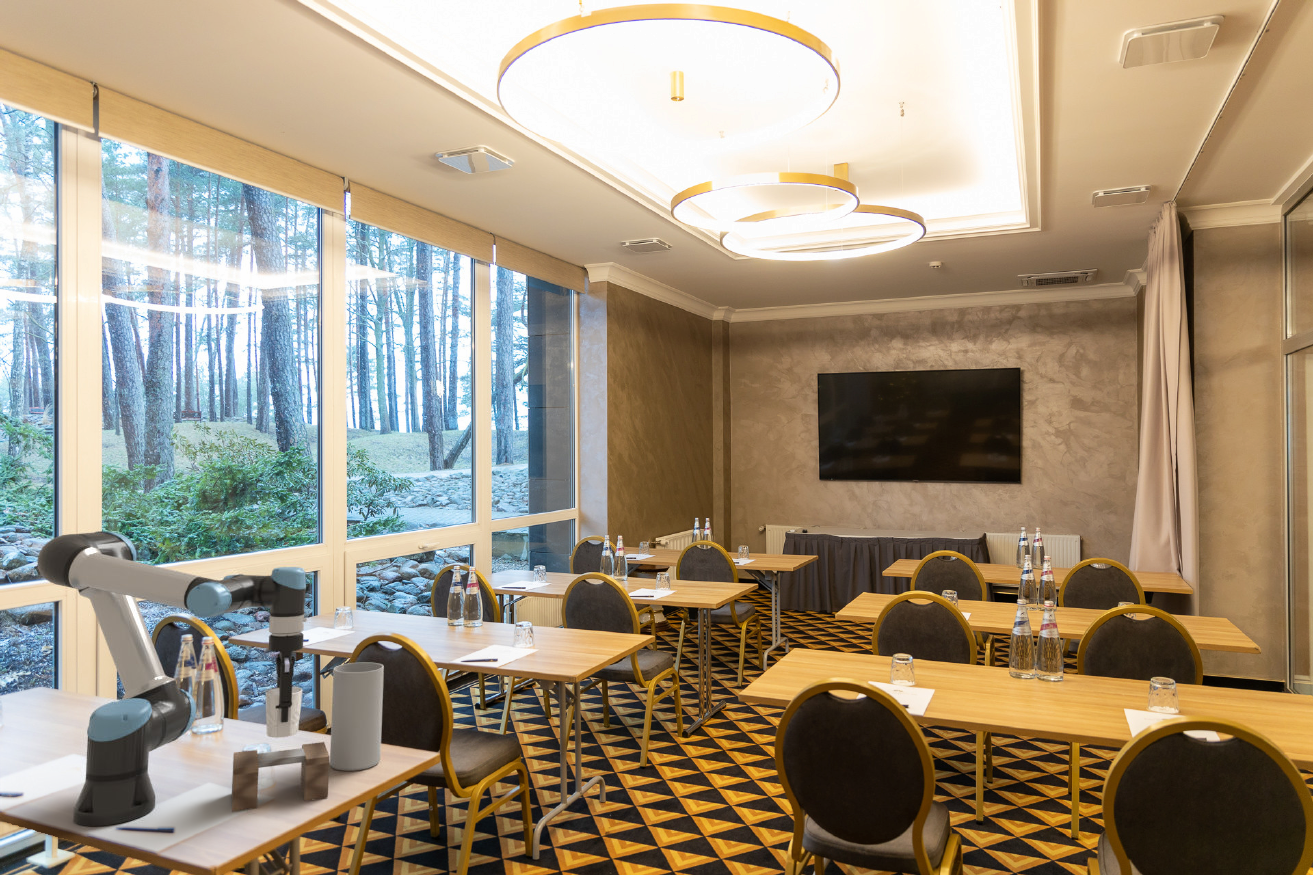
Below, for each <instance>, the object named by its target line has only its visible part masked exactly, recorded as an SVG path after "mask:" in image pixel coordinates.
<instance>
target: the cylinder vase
mask: <svg viewBox="0 0 1313 875" xmlns="http://www.w3.org/2000/svg"><path fill="white" fill-rule="evenodd" d="M384 668H385V667H384V664H382V663H377V662H365V661H363V662H350V663H344V664H340V665H336V666H334V667H333V674H332V675H333V676H332V681H333V682H332V699H331V701H332V702H331V704H332V705H331V721H330V722H331V727H330V728H331V729H330V751H329V752H330V754H329V766H331V768H332V769H334V770H337V771H342V772H343V771H344V772H345V771H346V772H352V771H353V772H354V771H356V772H357V771H362V770H366V769H367V770H368V769H369V768H373V767H374V766H377V765H378V764H379V762H380V761H381V751H382V749H381V748H382V727H383V726H382V724H383V699H384V696H383V695H384V674H385V673H384V671H385V670H384Z"/></svg>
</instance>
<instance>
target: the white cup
mask: <svg viewBox="0 0 1313 875" xmlns="http://www.w3.org/2000/svg"><path fill="white" fill-rule="evenodd" d="M302 697H303V688H301V687H298V686H292V706H291V720H290V735H288V736H279V737H277V722H278V709H276V706H277V705H279V688H277V687H275V688H271V689H268V690H266V692H265V721H266V722H265V723H266V736H267V737H268V738H269V737H270V738H276V739H278V738H288V737H291V736H294V735H297V734H298V732H299V724H300V723H299V721H300V720H301V719H300V717H301V709H302ZM283 702H285V701H283Z"/></svg>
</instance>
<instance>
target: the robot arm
mask: <svg viewBox="0 0 1313 875" xmlns="http://www.w3.org/2000/svg"><path fill="white" fill-rule="evenodd" d="M36 565H37V569H38V571H39V573H40V575H41V576H42V577H43V579H44V580H46V581H48V582H49V583H51V584H53V585H56V586H62V587H67V588H70V589H76V590H78V593H79V596H81V597H84V598H87V599H89V601H90V603H91V607H92V608H93V611H94V613H95V616H96V619H97V622H98V624H99V627H100V629H101V632H102V634H103V637H104V639H105V643H106V645H107V647H108V650H109V653H110V655H111V658H112V661H113V663H114V665H115V668H116V671H117V673H118V677H119V679H120V682H121V684H122V687H123V689H124V695H123V697H122V699H119V700H118V701H112V702H108V703H106V704H105V703H104V704H103V705H101V706H99V707H98V708H96V709H95V710H93V712H92V713H91V714H90V716H89V722H88V726H87V730H86V731H87V733H86V734H87V735H86V736H87V744H86V748H87V750H86V765H85V766H86V767H85V779H84V780H85V781H84V785H82V786H83V787H82V789H81V792H80V793H79V794H80V795H79V796H78V798H77V801H76V804H75V807H74V808H73V810H74V811H73V821H74V822H75V823H76V824H78V825H80V826H87V827H100V826H101V827H102V826H103V827H104V826H109V825H110V826H111V825H117V824H121V823H126V822H129V821H133V820H136V819H139V818H141V817H143V816H146V815H147V814H150V813H151V812H152V811H153V810H154V809H155V807H156V793H155V790H154V787H153V784H152V781H151V778H150V775H149V756H150V755H149V754H150V752H152V751H154V750H157V749H158V748H159V749H160V748H161V747H162V746H165V745H168V744H171V743H172V742H175V741H176V740H178V739H179V738H180V737H182V736H183V735H185V734H186V733H188V731H189V730H190V729H191V727H192V726H193V725H194V722H195V720H196V716H197V704H196V701H195V699H194V697H193V695H192V694H191V693H189V691H185V690H184V689H182V688H179V686H178V684H177V681H176V679H175V678H173V677H171V676H170V677H169V676H167V675H166V674H165V671H164V669H163V665H162V663H161V661H160V657H159V655H158V653H157V651H156V649H155V646H154V643H153V640H152V638H151V635H150V632H149V630H148V628H147V625H146V622H145V619H144V617H143V615H142V612H141V608H140V607H139V604H138V601H137V599H141V600H145V601H150V602H154V603H159V604H163V605H166V606H167V605H168V606H170V607H171V606H172V607H175V608H176V607H177V608H179V609H184V610H189V611H190V613H191V614H192V615H193V616H195V617H198V618H203V619H204V618H216V617H218V616H220V615H223V614H227V613H231V612H235V611H239V610H243V609H246V608H269V610H270V611H269V622H268V623H269V624H268V625H269V626H268V627H269V628H268V633H270V635H269V636H268V650H269V651H270V652H273V653H277V657H275V665H276V668H275V669H276V670H275V672H276V673H275V674H276V675H277V676H276V688H279V705H277V706H276V709H278V722H277V737H279V736H288V735H290V720H291V706H292V687H293V677H294V673H295V672H294V671H295V670H294V669H295V667H294V666H295V665H296V658H295V656H293V654H292V653H293V652H297V651H301V650H302V649H303V648H304V633H303V631H304V629H305V628H304V627H305V626H304V625H305V624H304V623H307V621H308V620H307V619H308V618H307V617H305V601H306V589H307V585H306V584H307V583H306V582H307V580H306V571H305V569H304V568H303V567H298V566H281V567H275V568H273V569H272V571H271V574H270V575H258V574H257V575H253V574H243V573H241V574H240V573H239V574H228V575H226V576H224V577H223V579H220V580H219V579H218V580H217V579H214V578H208V577H203V576H200V575H196V574H191V573H187V572H182V571H178V570H173V569H169V568H164V567H161V566H156V565H152V564H147V563H142V562H138V561H137V551H136V546H134V544H133V542H132V540H130V539H129V538H128V537H127V536H126V535H123V534H121V533H119V532H115V531H105V530H103V531H102V530H100V531H95V532H86V533H85V532H84V533H83V532H82V533H70V534H69V533H68V534H62V535H58V536H56V537H54V538H52V539H51V540H49V541H48V542H46V544H44V545H43V546H42V548H41V549H40V551H39V553H38V555H37V561H36ZM136 598H137V599H136ZM283 701H285V702H283ZM288 737H289V736H288ZM279 738H280V737H279Z"/></svg>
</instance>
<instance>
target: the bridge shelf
mask: <svg viewBox="0 0 1313 875" xmlns="http://www.w3.org/2000/svg"><path fill="white" fill-rule="evenodd" d="M325 743H326V742H325V741H322V742H314V743H313V742H312V743H305V744H302V745H301V748H293V749H284V750H277V751H276V750H275V751H268V752H260V753H258V749H254V750H253V749H252V750H245V751H237V752H233V755H232V756H233V758H232V781H231V812H232V813H233V812H241V811H248V810H253V809H257V808H258V790H259V769H260V768H267V767H268V768H269V767H276V766H277V767H278V766H284V765H292V764H300V763H301V765H300V787H301V791H302V795H303V796H302V797H303V799H304V802H308V801H313V800H312V799H316V800H320V799H321V800H323V799H327V798H326V797H328V796H329V779H330V778H329V776H330V775H329V774H330V754H329V751H328V749H327V746H326V744H325Z"/></svg>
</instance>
